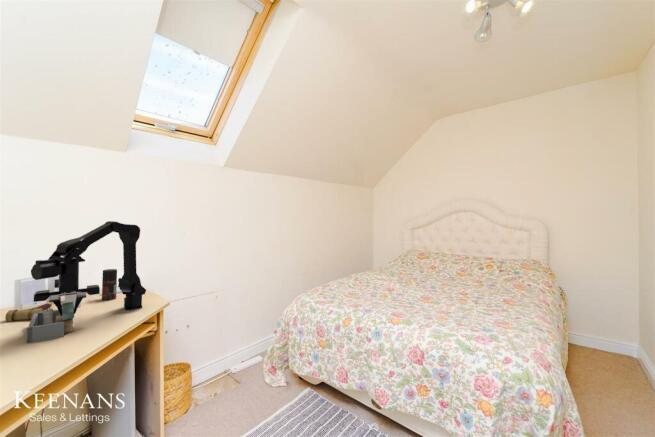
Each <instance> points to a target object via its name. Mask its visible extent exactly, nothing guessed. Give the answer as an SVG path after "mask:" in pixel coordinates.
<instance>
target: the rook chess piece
mask: <svg viewBox="0 0 655 437" xmlns="http://www.w3.org/2000/svg"><path fill="white" fill-rule="evenodd" d="M53 310H54V309H53V308H48V309H46V310H44V311H43V313H42V314H44V316H43V318H44V320H43V324H42V325H46V324H52V323H53V319H52V316H53V315H52V313H53V312H54V311H53Z"/></svg>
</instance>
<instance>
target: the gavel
mask: <svg viewBox="0 0 655 437" xmlns="http://www.w3.org/2000/svg"><path fill="white" fill-rule="evenodd" d="M52 306H53V304H52V303H43V304H41V305H39V306H37V307H33V308H31V309H9V310H8V311H7V312H6V314H5V317H4V318H5V321H6V322H7V323H8V322H15V321H28V320H29V321H31V319H32V317H33V314H34V313H36V312H43V311H44V310H45V311H46V309H48V310H49V309H51V307H52Z"/></svg>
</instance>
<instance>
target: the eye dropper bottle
mask: <svg viewBox="0 0 655 437" xmlns="http://www.w3.org/2000/svg"><path fill="white" fill-rule="evenodd" d="M76 295H77V294H73V295H64V303H66V302H72V301H73V304H74V306H75V301H76ZM81 306H82V301H81V302H80V304H79V306H78V308H80V307H81Z"/></svg>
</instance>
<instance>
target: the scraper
mask: <svg viewBox="0 0 655 437" xmlns="http://www.w3.org/2000/svg"><path fill="white" fill-rule="evenodd" d="M61 303H62V316H61V315H60V316H57V317H56V321H55V323H59V322H64V334H68V333H71V332H73V325H74V324H73V323H74V319H75V314H74V304H73V301H72V302H66V303H65V302H61Z"/></svg>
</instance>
